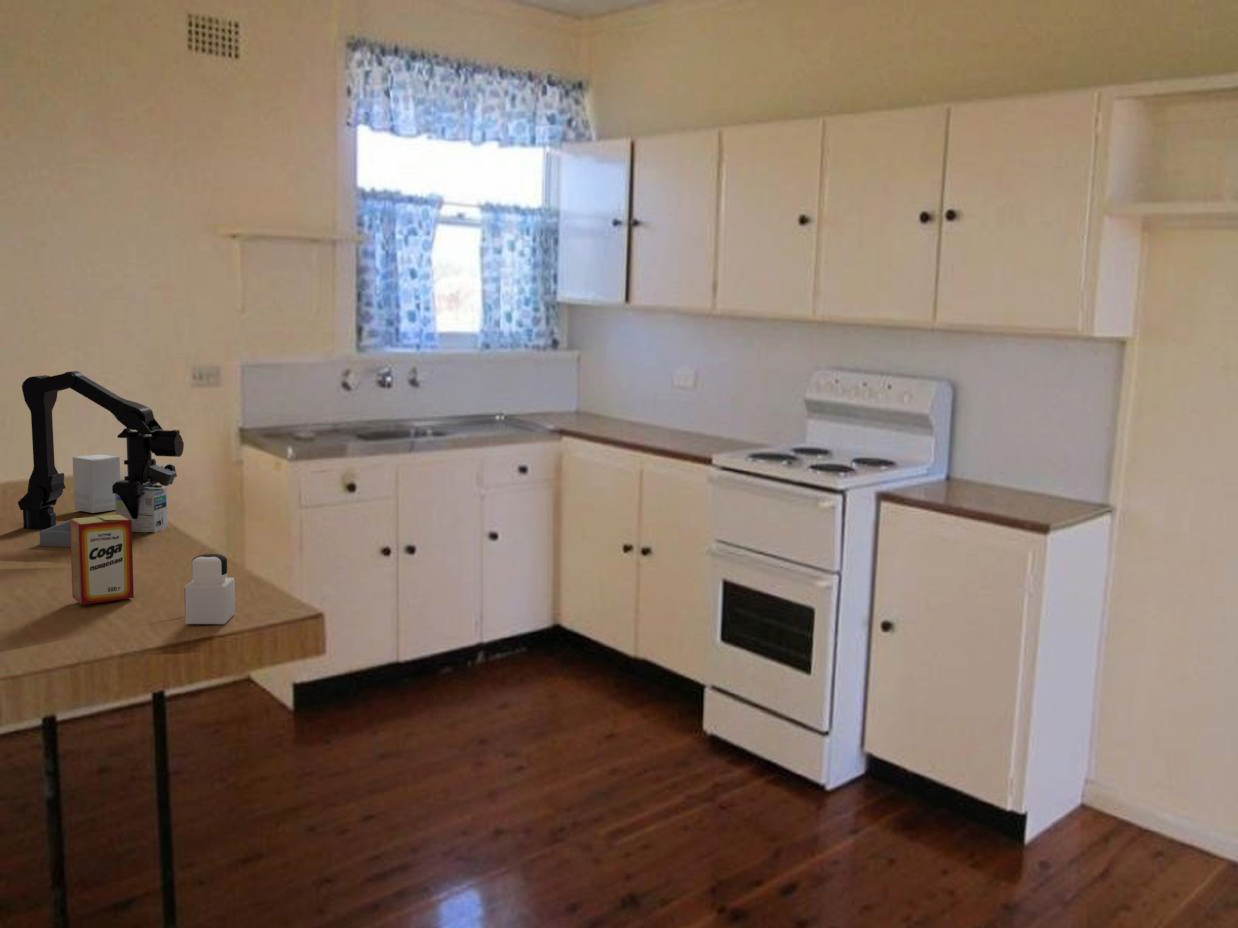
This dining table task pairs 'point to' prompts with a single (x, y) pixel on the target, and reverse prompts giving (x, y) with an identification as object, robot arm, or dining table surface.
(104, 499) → the supplement box
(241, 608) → the dining table surface
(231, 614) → the medicine bottle
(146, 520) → the light bulb box
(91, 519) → the baking soda box
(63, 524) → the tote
